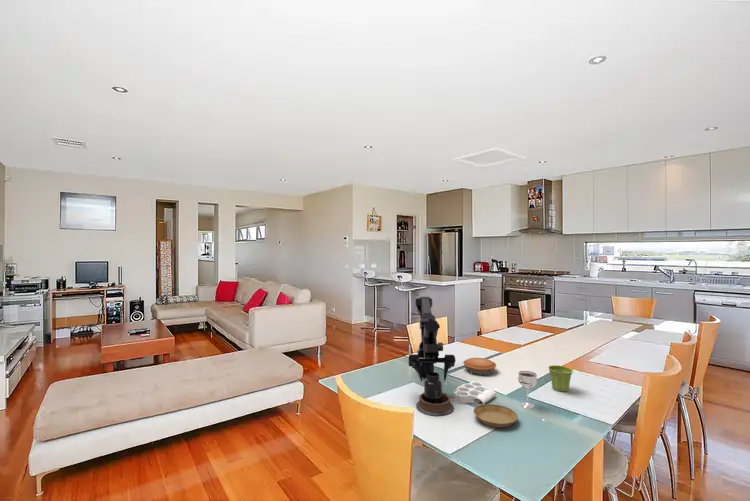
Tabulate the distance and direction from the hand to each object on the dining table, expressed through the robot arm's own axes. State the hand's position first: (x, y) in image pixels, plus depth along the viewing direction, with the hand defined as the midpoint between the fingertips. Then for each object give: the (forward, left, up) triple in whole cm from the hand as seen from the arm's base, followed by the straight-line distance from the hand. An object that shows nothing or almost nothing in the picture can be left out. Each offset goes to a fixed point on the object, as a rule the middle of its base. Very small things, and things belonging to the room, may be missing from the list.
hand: (433, 380), depth 141 cm
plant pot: (-56, +9, -8) cm, 57 cm away
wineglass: (-32, +16, -8) cm, 37 cm away
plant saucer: (-13, +21, -9) cm, 26 cm away
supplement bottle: (+3, +5, -8) cm, 9 cm away
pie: (-38, -22, -8) cm, 45 cm away
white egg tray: (-17, +2, -9) cm, 19 cm away
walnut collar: (+2, +5, -8) cm, 10 cm away
